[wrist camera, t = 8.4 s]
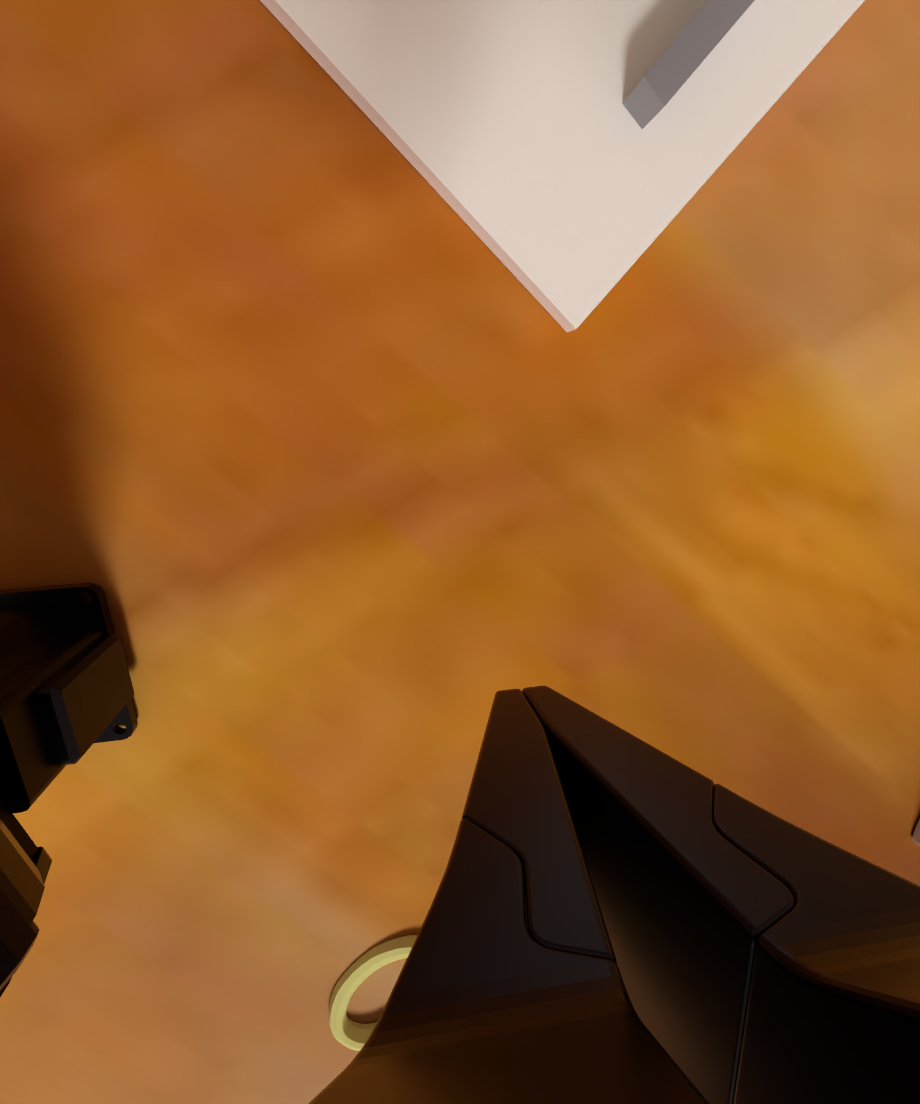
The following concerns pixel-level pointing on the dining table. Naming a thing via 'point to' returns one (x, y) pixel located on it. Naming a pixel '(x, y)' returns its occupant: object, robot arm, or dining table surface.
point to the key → (377, 957)
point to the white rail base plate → (564, 111)
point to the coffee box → (917, 834)
